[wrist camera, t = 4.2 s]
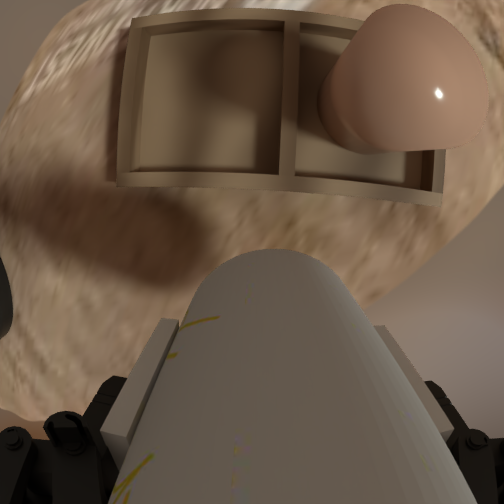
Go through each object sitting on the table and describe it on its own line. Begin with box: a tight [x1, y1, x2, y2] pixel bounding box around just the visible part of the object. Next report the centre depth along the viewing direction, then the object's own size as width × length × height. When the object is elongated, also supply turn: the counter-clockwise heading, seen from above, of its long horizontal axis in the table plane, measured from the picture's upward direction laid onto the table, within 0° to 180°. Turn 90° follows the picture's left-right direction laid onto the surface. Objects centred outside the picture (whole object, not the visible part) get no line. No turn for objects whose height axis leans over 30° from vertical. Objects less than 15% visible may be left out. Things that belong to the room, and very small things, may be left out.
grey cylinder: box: [108, 249, 477, 504], centre depth 9 cm, size 8×8×12 cm
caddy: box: [117, 8, 446, 207], centre depth 19 cm, size 23×13×2 cm, turn 87°
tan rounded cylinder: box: [317, 4, 489, 155], centre depth 14 cm, size 7×7×10 cm
